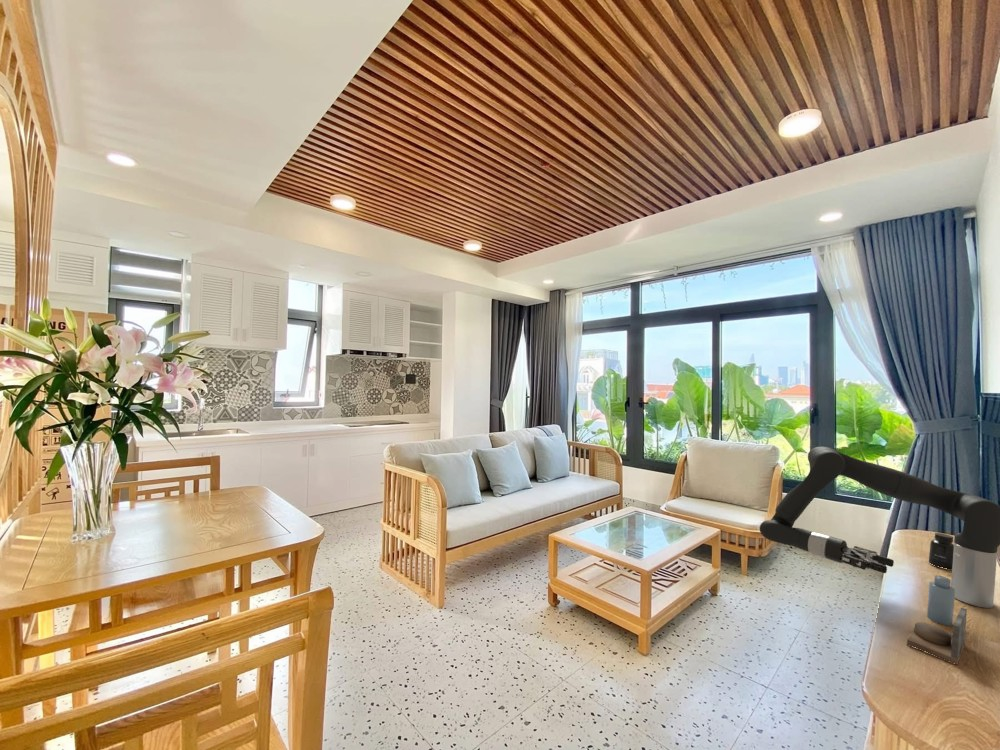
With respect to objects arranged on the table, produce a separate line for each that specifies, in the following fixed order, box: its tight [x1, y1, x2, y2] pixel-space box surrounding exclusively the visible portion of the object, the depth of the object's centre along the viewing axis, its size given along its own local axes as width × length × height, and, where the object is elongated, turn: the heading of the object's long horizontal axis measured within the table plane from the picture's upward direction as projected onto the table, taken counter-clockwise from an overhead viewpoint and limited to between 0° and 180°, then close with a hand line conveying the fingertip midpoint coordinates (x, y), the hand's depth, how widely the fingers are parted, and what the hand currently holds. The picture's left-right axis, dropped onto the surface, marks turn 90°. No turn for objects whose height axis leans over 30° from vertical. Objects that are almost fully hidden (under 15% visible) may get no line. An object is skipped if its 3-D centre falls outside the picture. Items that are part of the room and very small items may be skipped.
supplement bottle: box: [928, 532, 954, 569], centre depth 162 cm, size 7×7×12 cm
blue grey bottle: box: [926, 575, 956, 627], centre depth 124 cm, size 5×5×12 cm
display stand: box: [906, 607, 968, 665], centre depth 112 cm, size 14×9×10 cm, turn 127°
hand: (890, 566), depth 133 cm, fingers open, 8 cm apart
